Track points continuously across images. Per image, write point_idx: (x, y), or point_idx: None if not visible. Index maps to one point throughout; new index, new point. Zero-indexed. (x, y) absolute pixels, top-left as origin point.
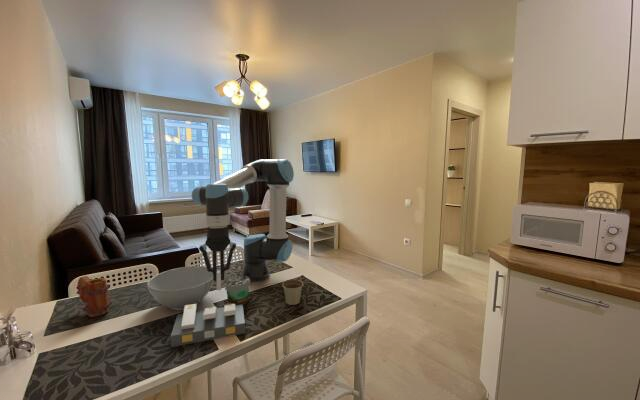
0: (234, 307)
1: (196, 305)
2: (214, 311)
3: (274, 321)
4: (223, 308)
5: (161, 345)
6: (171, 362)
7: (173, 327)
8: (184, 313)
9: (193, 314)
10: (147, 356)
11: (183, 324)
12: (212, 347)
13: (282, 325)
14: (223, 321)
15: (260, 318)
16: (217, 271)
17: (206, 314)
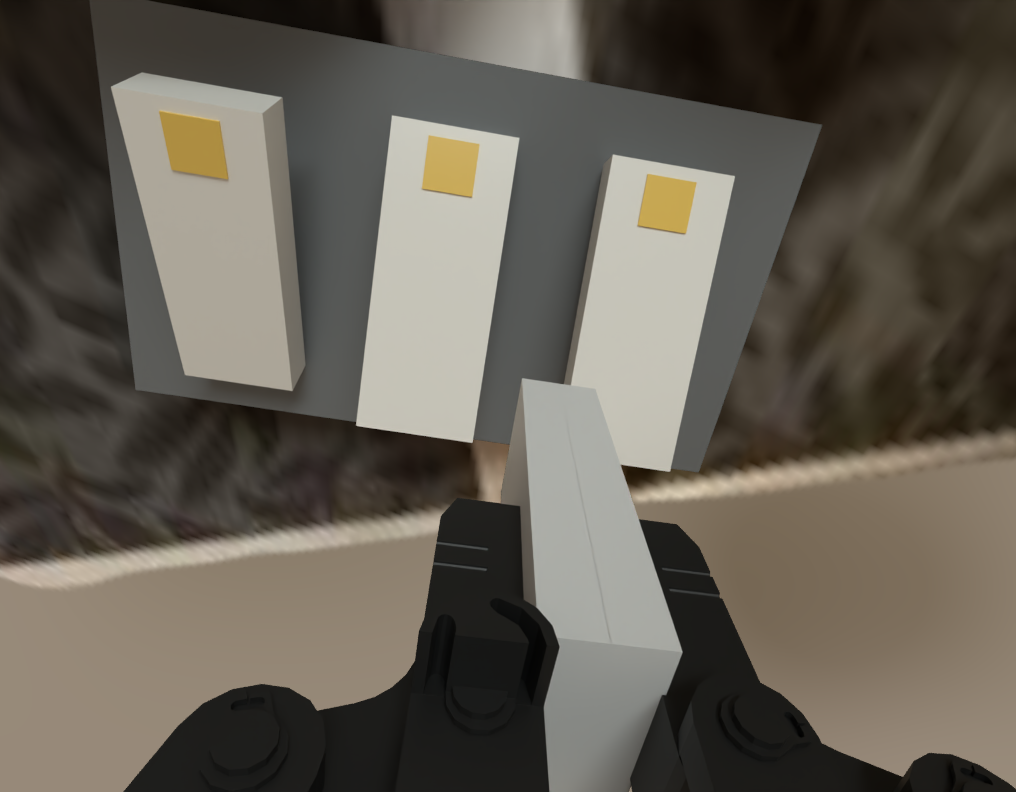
0: (684, 360)
1: (270, 119)
2: (472, 371)
3: (933, 386)
4: (599, 116)
5: (108, 301)
6: (222, 494)
7: (122, 268)
8: (160, 234)
9: (264, 282)
10: (56, 381)
11: (199, 366)
12: (448, 472)
13: (946, 458)
14: (547, 376)
15: (868, 292)
16: (550, 709)
17: (388, 429)
